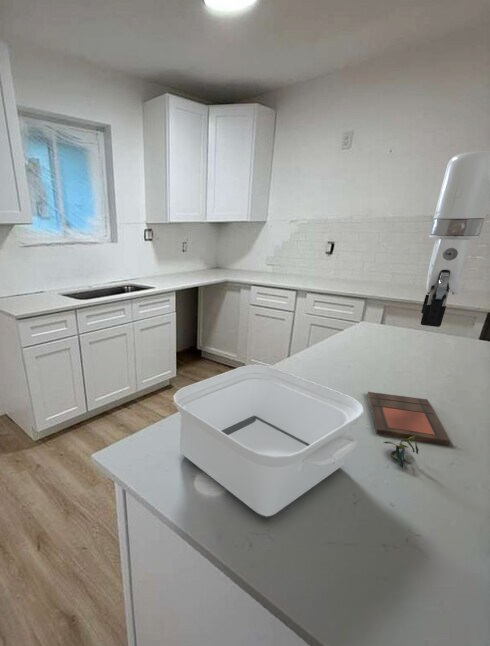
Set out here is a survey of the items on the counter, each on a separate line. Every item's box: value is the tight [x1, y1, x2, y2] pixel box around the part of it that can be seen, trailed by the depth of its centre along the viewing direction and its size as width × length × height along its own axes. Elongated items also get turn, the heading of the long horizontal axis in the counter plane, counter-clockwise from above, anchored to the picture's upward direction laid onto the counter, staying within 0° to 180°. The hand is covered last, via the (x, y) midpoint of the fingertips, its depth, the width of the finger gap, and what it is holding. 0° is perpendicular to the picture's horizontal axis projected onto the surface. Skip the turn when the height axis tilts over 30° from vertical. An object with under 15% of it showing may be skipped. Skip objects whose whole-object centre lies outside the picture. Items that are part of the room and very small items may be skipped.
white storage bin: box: [172, 364, 365, 519], centre depth 72 cm, size 34×29×15 cm
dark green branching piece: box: [383, 435, 419, 469], centre depth 75 cm, size 8×6×6 cm
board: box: [366, 391, 451, 446], centre depth 89 cm, size 14×20×1 cm
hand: (429, 319), depth 73 cm, fingers open, 9 cm apart
